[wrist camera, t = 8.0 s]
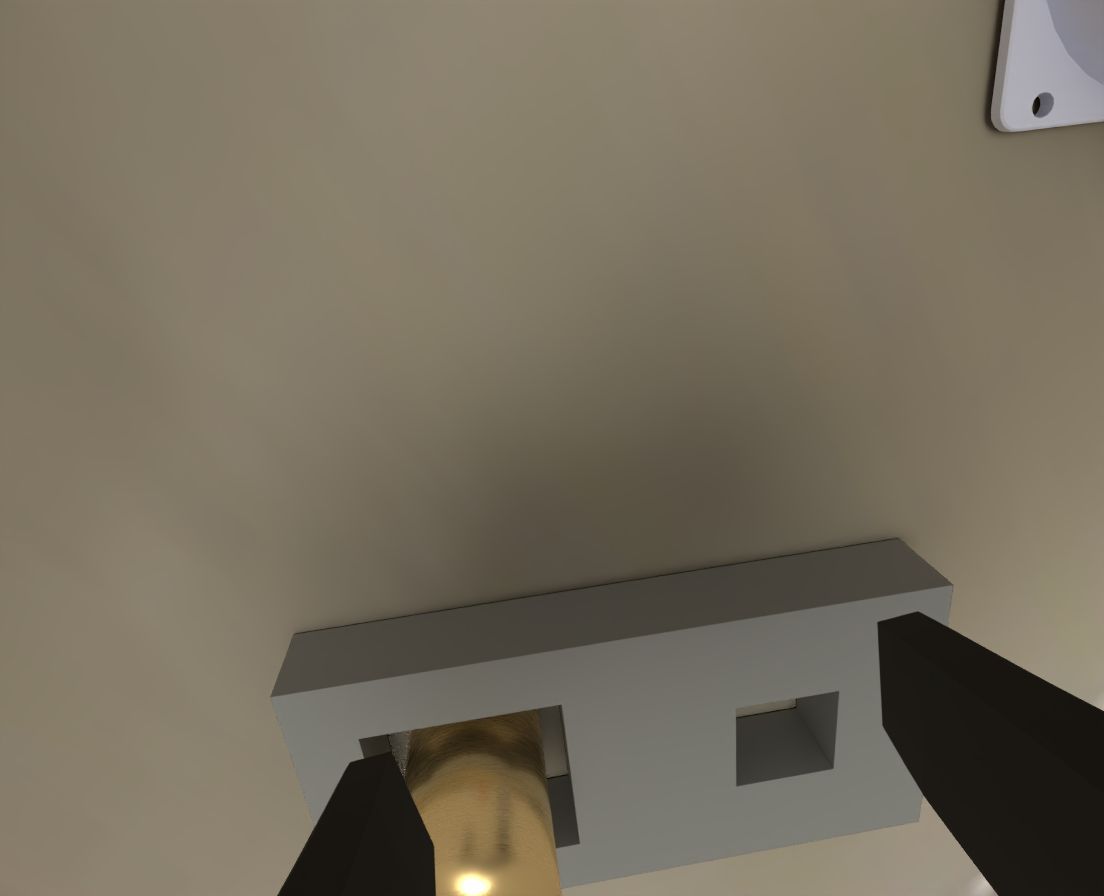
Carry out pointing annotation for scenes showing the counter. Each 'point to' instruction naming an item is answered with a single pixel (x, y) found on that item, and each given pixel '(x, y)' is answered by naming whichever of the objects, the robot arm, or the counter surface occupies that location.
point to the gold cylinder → (486, 805)
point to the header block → (647, 702)
